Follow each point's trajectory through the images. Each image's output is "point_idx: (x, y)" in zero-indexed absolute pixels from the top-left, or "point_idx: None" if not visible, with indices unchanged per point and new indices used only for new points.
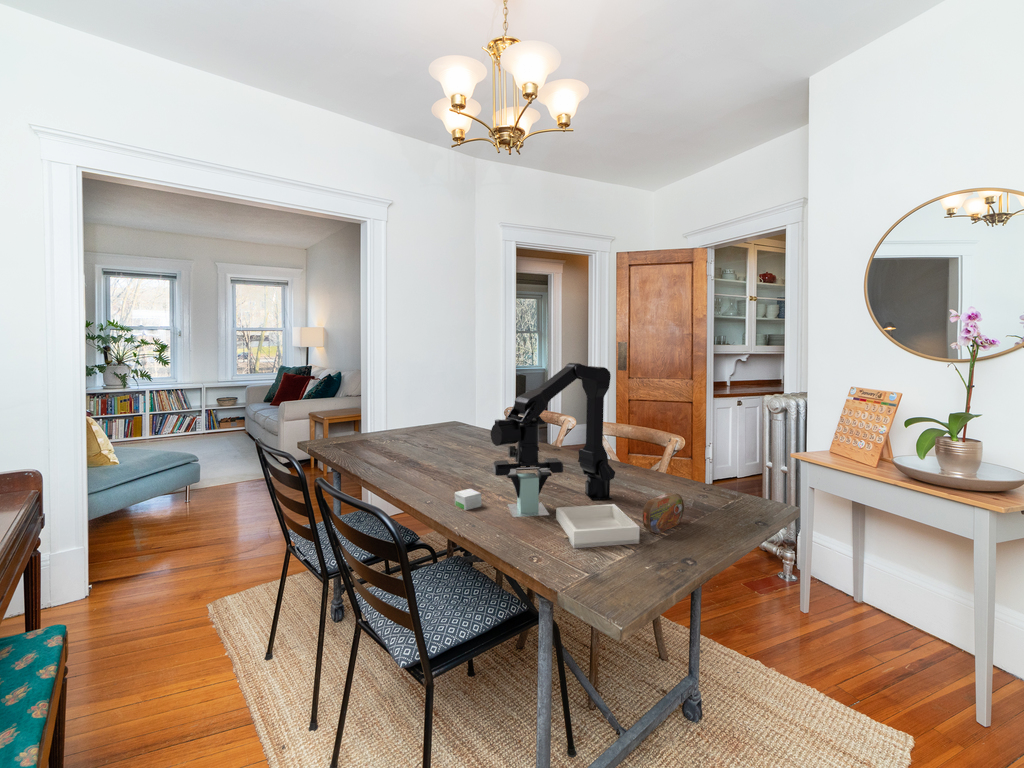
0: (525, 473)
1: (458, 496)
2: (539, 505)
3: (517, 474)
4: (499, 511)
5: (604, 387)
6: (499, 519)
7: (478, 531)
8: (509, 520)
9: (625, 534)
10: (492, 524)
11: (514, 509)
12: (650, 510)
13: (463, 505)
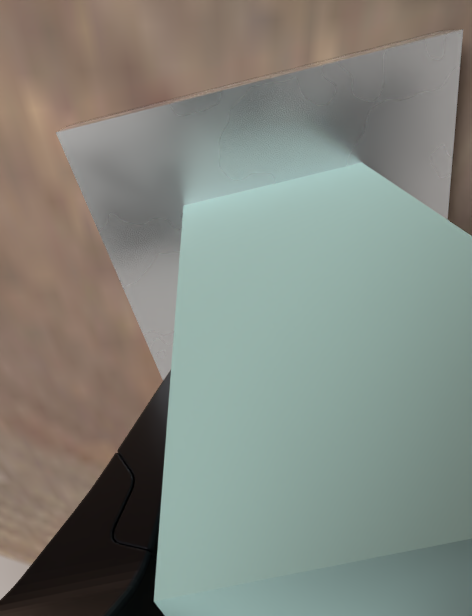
0: (448, 547)
1: None
2: (413, 150)
3: (165, 600)
4: (23, 233)
5: None
6: (78, 379)
7: (15, 511)
8: (151, 386)
9: None
10: (58, 442)
11: (165, 276)
12: None
13: None
